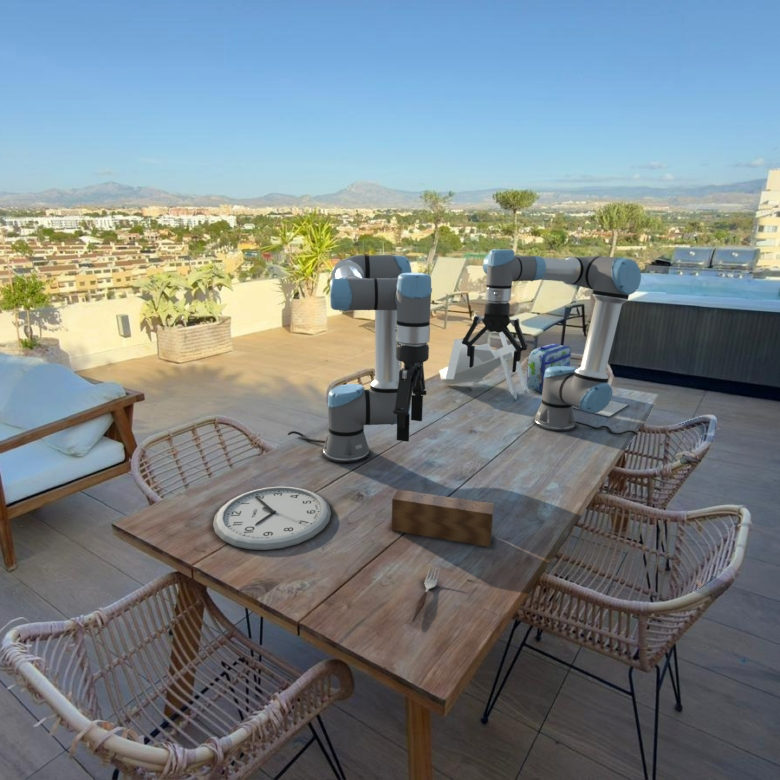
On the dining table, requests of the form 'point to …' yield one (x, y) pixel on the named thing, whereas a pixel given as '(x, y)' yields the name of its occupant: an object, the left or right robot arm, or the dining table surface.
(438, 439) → the dining table surface
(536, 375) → the lunch box
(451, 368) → the white plastic object
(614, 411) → the invitation card
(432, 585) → the fork
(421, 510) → the bar
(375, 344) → the left robot arm
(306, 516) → the wall clock
